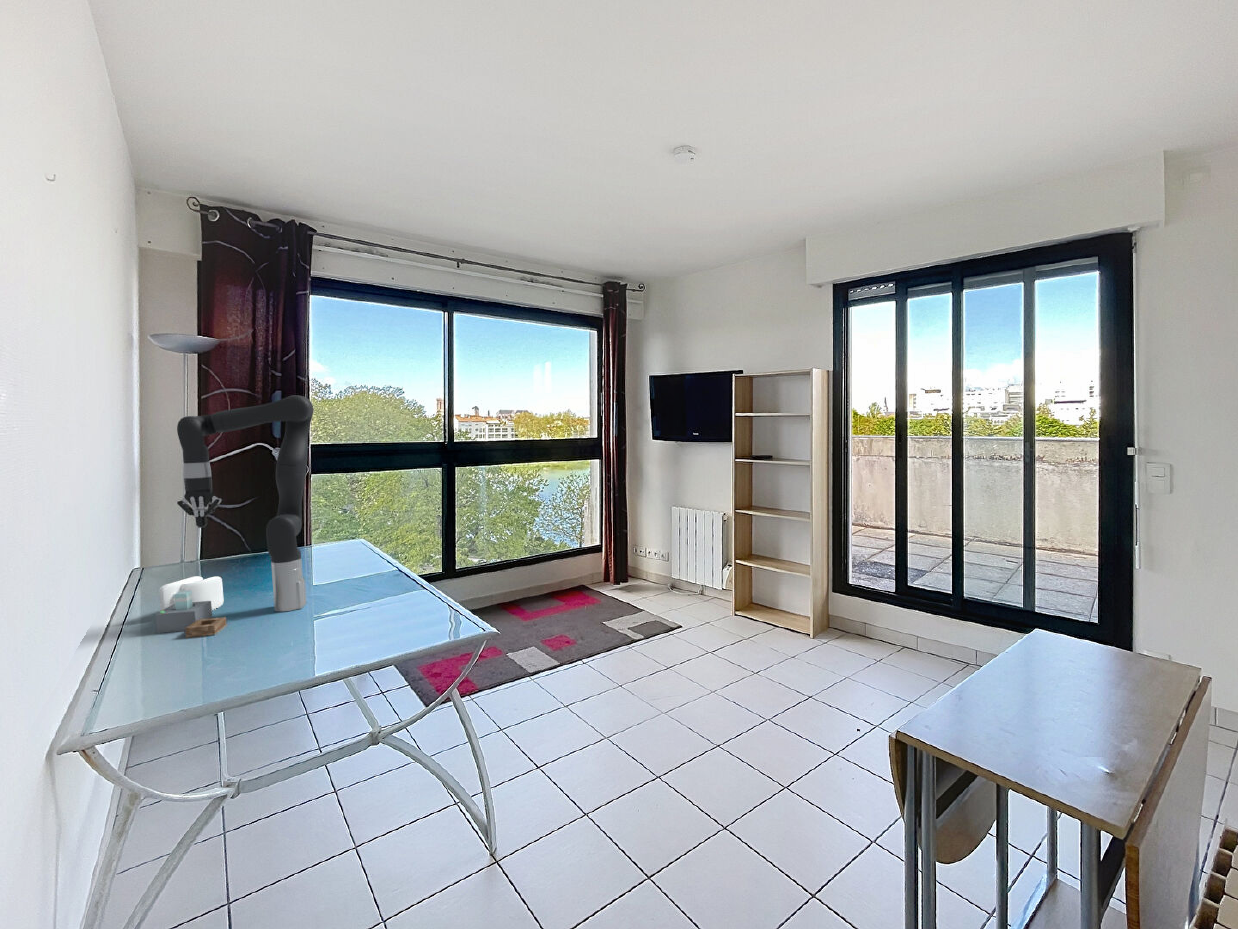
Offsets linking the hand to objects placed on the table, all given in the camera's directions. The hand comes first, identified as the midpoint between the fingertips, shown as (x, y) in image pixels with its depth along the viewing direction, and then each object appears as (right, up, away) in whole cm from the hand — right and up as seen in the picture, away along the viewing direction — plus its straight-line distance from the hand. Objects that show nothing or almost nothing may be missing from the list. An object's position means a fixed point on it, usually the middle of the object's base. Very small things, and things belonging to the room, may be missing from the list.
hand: (202, 527), depth 194 cm
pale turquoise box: (-2, -31, -5) cm, 31 cm away
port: (-2, -32, -5) cm, 32 cm away
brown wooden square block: (+10, -32, -12) cm, 35 cm away
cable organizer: (-8, -31, +8) cm, 33 cm away
